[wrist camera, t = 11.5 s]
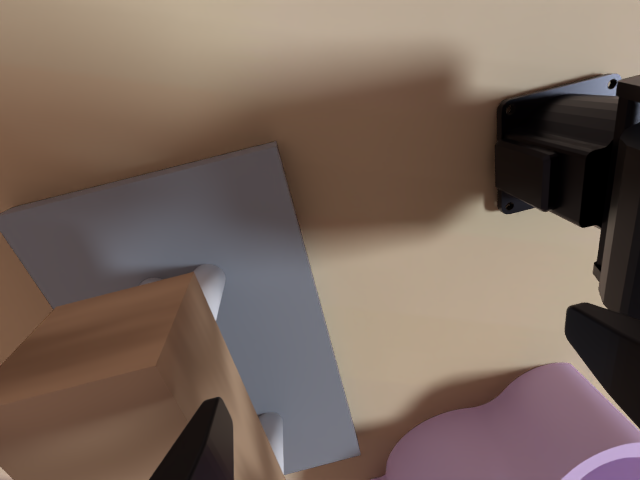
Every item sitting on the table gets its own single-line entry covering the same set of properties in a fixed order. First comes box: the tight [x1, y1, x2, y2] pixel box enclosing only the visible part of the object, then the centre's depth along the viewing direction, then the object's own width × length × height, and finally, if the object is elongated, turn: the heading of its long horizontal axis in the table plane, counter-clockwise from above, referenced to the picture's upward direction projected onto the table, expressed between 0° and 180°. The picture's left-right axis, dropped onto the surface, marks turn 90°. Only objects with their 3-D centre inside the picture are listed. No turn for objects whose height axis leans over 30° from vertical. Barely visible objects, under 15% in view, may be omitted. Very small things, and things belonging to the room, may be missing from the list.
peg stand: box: [0, 141, 361, 475], centre depth 21 cm, size 14×24×6 cm, turn 13°
